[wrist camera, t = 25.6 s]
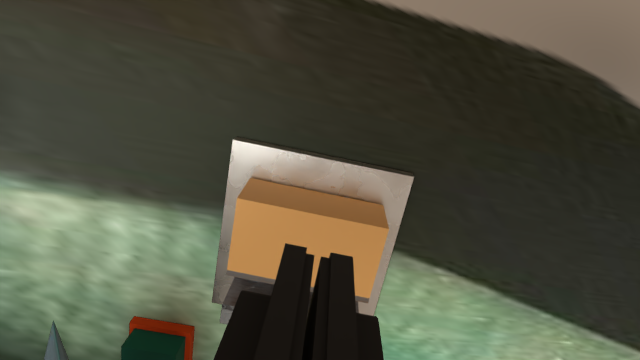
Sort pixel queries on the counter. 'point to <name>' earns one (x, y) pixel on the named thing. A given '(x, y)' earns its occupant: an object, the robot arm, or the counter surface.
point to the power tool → (141, 341)
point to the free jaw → (304, 232)
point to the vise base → (310, 175)
